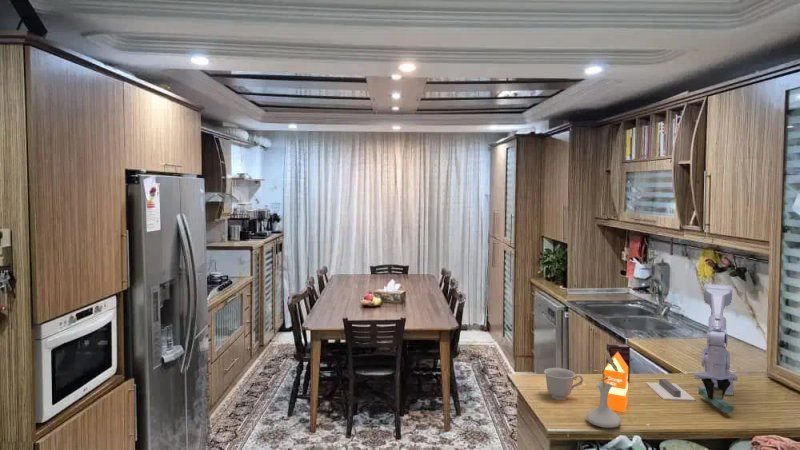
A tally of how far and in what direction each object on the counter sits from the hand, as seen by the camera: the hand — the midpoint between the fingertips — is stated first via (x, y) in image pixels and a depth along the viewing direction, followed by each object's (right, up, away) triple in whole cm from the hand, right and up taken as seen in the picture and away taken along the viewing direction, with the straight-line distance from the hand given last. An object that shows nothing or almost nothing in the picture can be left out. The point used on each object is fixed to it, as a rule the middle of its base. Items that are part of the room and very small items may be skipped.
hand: (715, 398), depth 190 cm
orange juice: (-37, -4, +1) cm, 37 cm away
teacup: (-54, -3, +9) cm, 55 cm away
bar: (0, -2, 0) cm, 2 cm away
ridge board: (-9, -3, +16) cm, 18 cm away
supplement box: (-25, -3, +28) cm, 38 cm away
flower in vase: (-47, -4, -14) cm, 50 cm away
